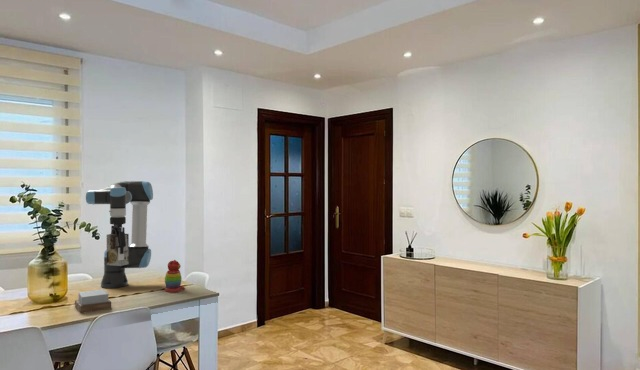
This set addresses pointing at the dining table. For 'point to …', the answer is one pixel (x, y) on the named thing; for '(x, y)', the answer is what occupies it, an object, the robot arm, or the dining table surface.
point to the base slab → (92, 306)
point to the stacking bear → (173, 278)
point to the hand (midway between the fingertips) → (117, 258)
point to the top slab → (93, 297)
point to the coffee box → (116, 250)
